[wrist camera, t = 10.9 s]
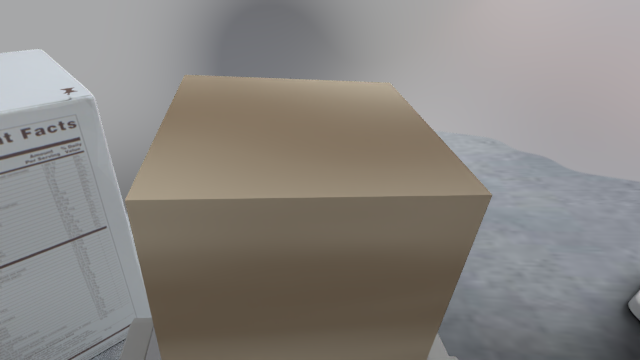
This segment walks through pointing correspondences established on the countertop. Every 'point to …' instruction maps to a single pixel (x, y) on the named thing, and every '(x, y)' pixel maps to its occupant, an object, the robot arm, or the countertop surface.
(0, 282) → the supplement box
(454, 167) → the square peg
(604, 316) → the countertop surface
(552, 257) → the countertop surface
